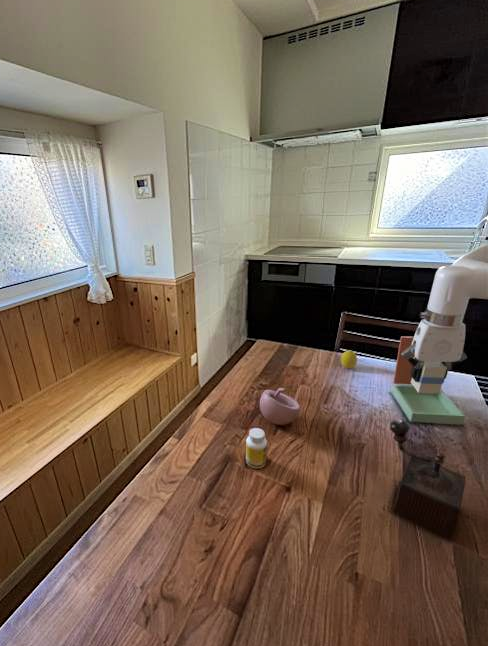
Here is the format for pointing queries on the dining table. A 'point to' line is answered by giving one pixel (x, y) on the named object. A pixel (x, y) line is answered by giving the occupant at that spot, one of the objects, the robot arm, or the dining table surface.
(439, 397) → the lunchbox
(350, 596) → the dining table surface
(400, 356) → the lunchbox lid
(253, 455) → the supplement bottle
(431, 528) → the manual coffee grinder
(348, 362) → the lemon
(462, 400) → the dining table surface
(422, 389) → the drink carton
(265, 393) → the mortar and pestle
